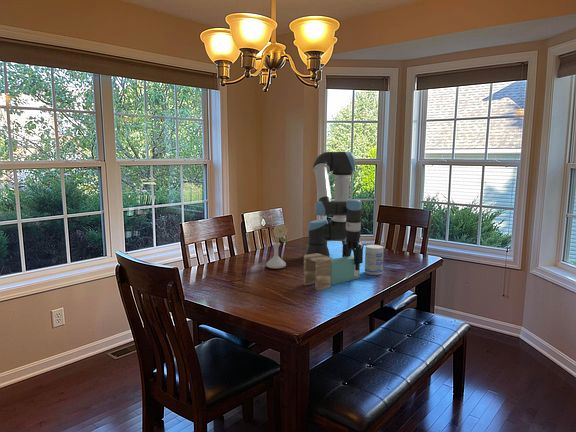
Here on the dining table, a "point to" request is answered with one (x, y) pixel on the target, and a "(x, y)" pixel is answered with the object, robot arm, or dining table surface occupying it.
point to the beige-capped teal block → (343, 269)
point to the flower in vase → (276, 260)
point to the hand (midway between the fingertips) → (351, 274)
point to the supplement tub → (374, 259)
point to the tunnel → (317, 270)
